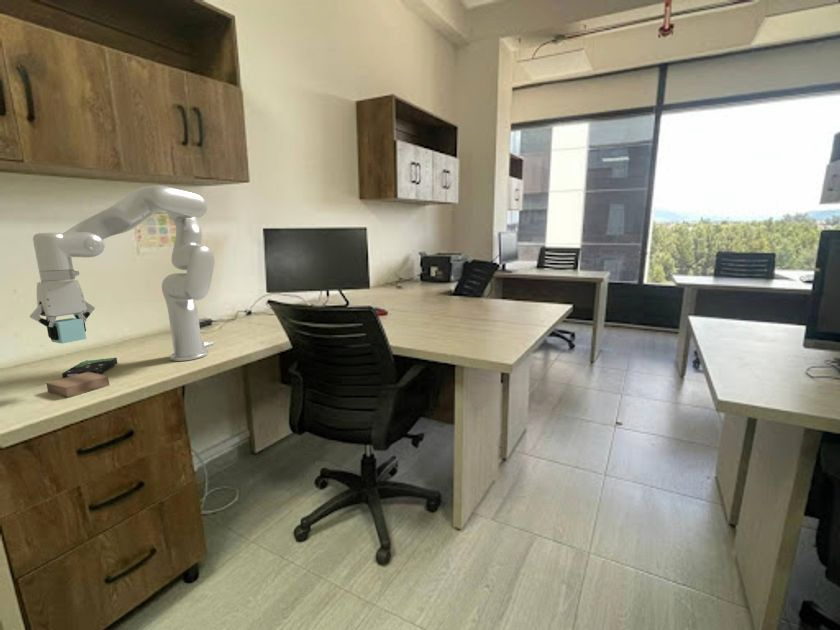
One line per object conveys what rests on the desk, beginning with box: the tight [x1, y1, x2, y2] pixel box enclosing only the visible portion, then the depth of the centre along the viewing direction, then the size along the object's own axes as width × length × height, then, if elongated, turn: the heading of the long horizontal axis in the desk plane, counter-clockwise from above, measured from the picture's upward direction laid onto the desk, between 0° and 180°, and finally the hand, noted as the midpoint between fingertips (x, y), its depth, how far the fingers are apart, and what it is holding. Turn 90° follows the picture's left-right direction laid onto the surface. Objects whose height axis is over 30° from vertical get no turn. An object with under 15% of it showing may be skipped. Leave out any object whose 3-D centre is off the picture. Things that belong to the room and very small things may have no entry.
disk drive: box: [61, 357, 118, 379], centre depth 143 cm, size 10×3×15 cm
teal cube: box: [50, 317, 87, 345], centre depth 123 cm, size 6×6×6 cm
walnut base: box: [46, 372, 110, 399], centre depth 126 cm, size 11×11×3 cm
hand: (68, 336), depth 123 cm, fingers closed on teal cube, 6 cm apart
